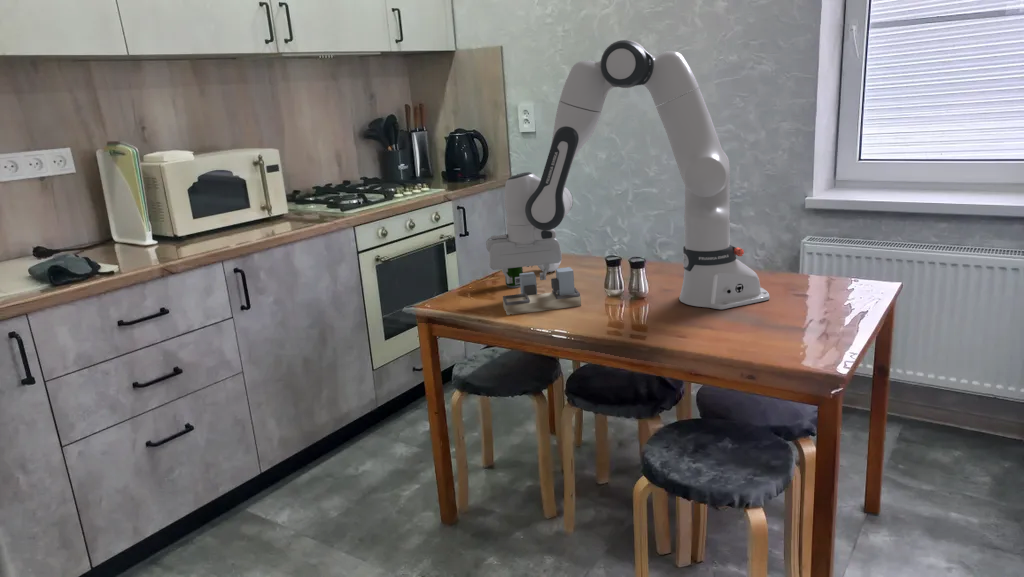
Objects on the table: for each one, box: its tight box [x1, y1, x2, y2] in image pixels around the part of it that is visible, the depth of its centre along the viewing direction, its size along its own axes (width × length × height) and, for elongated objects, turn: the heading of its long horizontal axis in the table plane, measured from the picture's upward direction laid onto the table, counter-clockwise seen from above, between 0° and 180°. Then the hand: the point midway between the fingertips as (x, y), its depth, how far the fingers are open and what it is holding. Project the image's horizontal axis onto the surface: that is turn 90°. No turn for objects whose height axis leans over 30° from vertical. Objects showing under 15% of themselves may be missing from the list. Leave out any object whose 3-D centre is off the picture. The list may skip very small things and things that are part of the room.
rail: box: [502, 287, 582, 316], centre depth 189 cm, size 20×7×3 cm, turn 98°
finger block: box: [519, 271, 538, 296], centre depth 195 cm, size 6×4×7 cm
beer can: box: [504, 267, 524, 289], centre depth 209 cm, size 5×5×12 cm
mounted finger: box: [550, 266, 575, 296], centre depth 188 cm, size 6×4×7 cm
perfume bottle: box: [526, 260, 562, 273], centre depth 222 cm, size 8×8×12 cm
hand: (526, 281), depth 196 cm, fingers open, 8 cm apart
